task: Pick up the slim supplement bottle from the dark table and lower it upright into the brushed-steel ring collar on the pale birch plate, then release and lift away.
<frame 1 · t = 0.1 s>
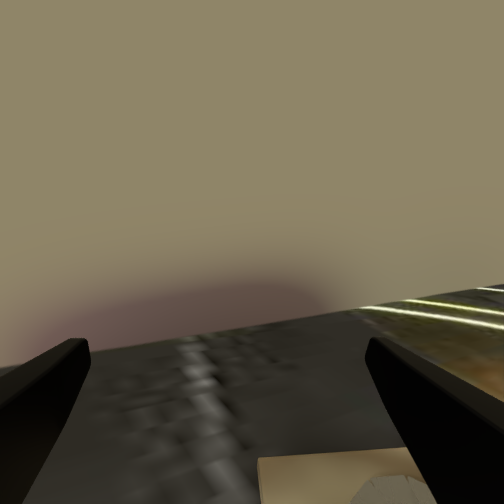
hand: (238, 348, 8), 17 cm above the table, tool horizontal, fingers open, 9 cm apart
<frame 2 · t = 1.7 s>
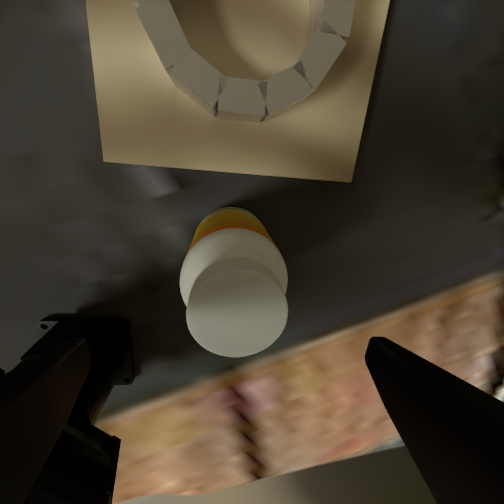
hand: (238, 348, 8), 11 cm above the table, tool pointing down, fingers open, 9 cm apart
steel ring collar: (244, 17, 13), resting on birch base plate
supplement bottle: (230, 240, 19), on the table
birch base plate: (243, 27, 14), on the table
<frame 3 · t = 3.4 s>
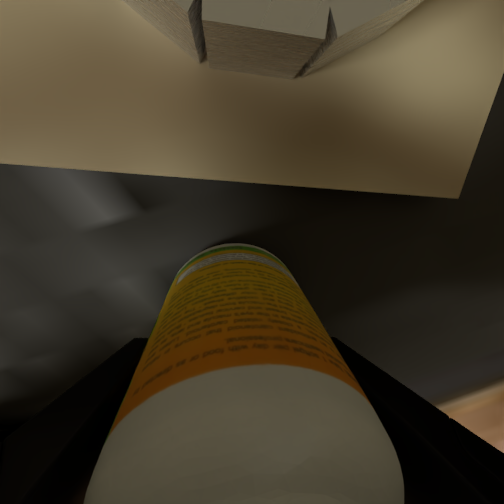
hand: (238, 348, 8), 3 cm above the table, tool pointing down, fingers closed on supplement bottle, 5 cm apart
supplement bottle: (234, 296, 11), on the table, touching gripper
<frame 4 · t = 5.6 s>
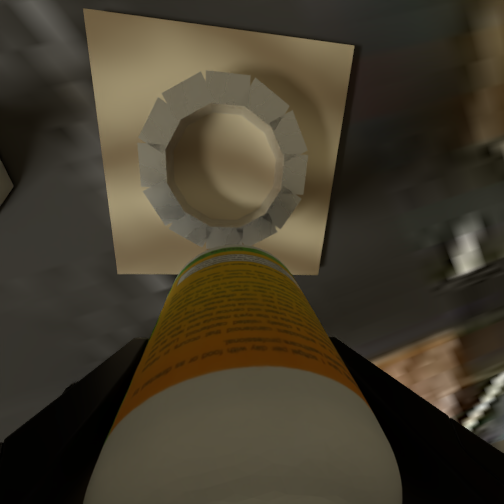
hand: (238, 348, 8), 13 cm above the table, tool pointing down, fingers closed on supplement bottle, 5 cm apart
steel ring collar: (225, 170, 17), resting on birch base plate
supplement bottle: (234, 297, 11), point 10 cm above the table, touching gripper
birch base plate: (225, 169, 18), on the table
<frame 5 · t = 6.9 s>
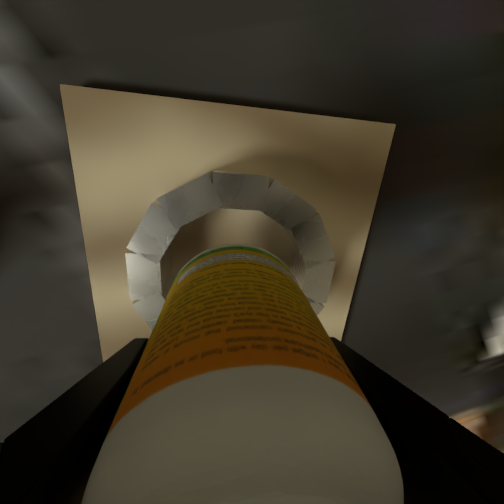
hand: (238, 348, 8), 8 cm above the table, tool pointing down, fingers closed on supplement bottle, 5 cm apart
steel ring collar: (233, 260, 14), resting on birch base plate
supplement bottle: (234, 296, 11), point 5 cm above the table, touching gripper
birch base plate: (232, 254, 15), on the table
when the fingers open (5 cm above the table, at t = 8.0 s): supplement bottle stays where it is, resting on birch base plate.
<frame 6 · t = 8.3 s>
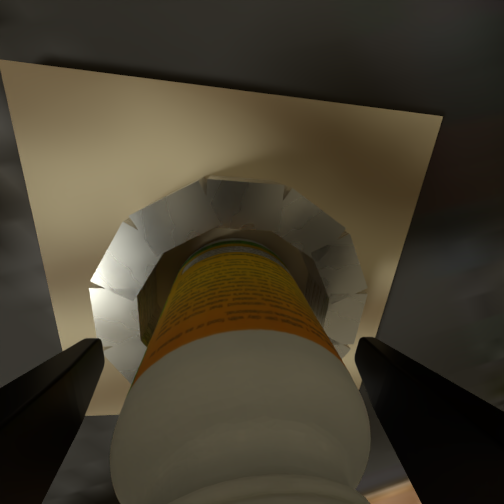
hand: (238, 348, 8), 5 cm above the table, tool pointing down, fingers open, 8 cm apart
steel ring collar: (233, 287, 11), resting on birch base plate
supplement bottle: (233, 287, 12), point 1 cm above the table, touching birch base plate
birch base plate: (233, 278, 12), on the table
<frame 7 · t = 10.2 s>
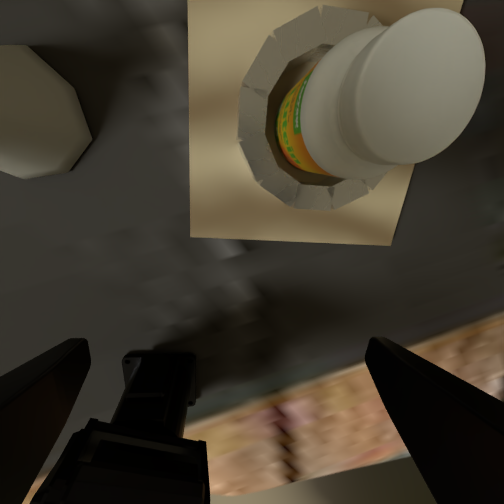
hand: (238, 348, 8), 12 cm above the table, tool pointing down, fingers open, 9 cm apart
steel ring collar: (312, 127, 16), resting on birch base plate
flask: (31, 118, 15), on the table
supplement bottle: (311, 129, 16), point 1 cm above the table, touching birch base plate
birch base plate: (307, 128, 17), on the table
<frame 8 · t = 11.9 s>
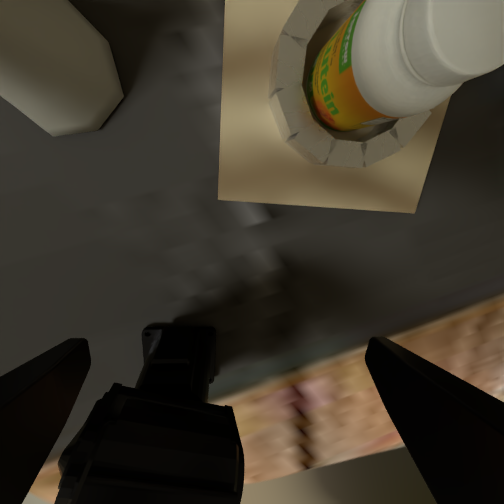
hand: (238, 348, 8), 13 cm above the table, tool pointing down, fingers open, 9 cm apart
steel ring collar: (343, 86, 16), resting on birch base plate
flask: (63, 74, 15), on the table
supplement bottle: (341, 89, 16), point 1 cm above the table, touching birch base plate
birch base plate: (336, 91, 17), on the table
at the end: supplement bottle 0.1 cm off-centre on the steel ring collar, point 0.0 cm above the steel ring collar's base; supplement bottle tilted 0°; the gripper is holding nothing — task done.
